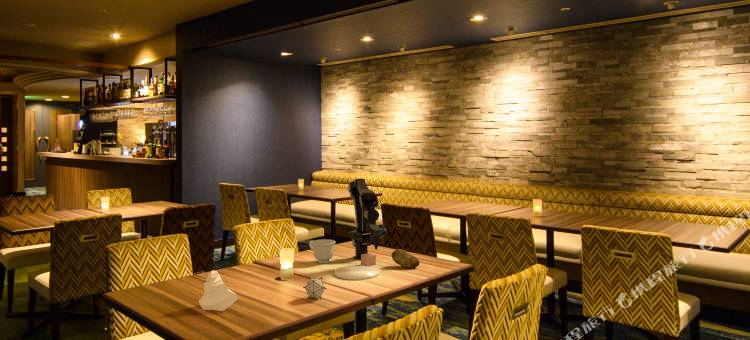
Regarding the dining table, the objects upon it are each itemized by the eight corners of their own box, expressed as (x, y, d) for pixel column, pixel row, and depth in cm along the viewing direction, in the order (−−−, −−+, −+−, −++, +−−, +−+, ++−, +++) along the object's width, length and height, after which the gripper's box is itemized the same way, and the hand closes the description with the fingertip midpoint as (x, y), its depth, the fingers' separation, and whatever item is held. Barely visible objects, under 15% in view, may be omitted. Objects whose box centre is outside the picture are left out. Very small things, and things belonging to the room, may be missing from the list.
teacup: (318, 257, 275) (317, 237, 274) (340, 261, 266) (340, 241, 266) (301, 261, 265) (301, 241, 265) (324, 266, 257) (324, 245, 256)
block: (361, 264, 259) (361, 254, 258) (369, 263, 262) (369, 253, 261) (367, 266, 255) (367, 256, 254) (375, 265, 258) (375, 254, 258)
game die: (316, 309, 205) (314, 293, 199) (300, 298, 209) (297, 282, 203) (332, 293, 211) (329, 277, 204) (315, 282, 215) (313, 266, 208)
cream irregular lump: (205, 319, 189) (193, 281, 188) (201, 310, 203) (189, 274, 201) (240, 305, 194) (228, 268, 192) (233, 297, 208) (222, 262, 206)
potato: (410, 270, 247) (410, 253, 246) (388, 266, 255) (388, 249, 254) (421, 267, 253) (421, 250, 252) (399, 263, 261) (399, 246, 261)
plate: (325, 273, 244) (325, 270, 244) (361, 266, 256) (361, 263, 256) (351, 282, 228) (351, 279, 228) (388, 274, 240) (388, 272, 240)
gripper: (362, 222, 245) (362, 256, 246) (394, 218, 256) (394, 250, 257) (348, 219, 254) (348, 252, 255) (379, 215, 265) (379, 246, 266)
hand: (368, 250), depth 258 cm, fingers open, 9 cm apart
